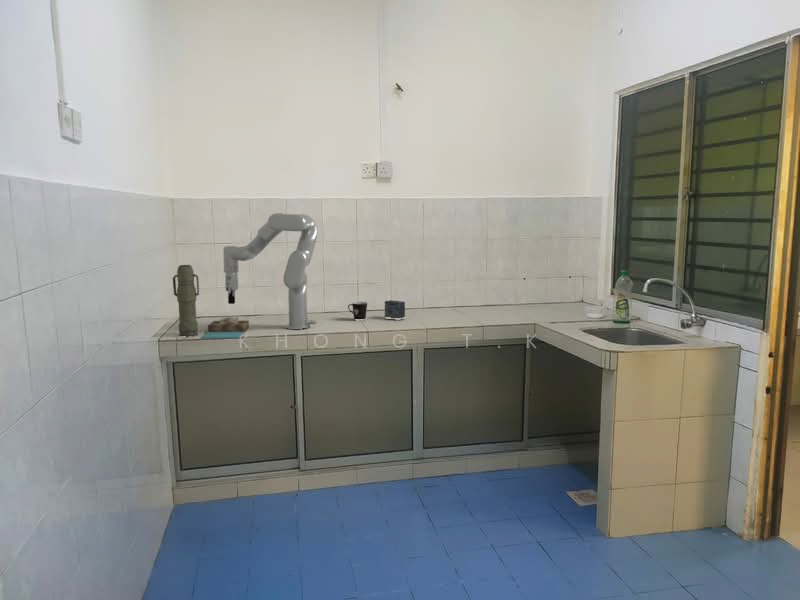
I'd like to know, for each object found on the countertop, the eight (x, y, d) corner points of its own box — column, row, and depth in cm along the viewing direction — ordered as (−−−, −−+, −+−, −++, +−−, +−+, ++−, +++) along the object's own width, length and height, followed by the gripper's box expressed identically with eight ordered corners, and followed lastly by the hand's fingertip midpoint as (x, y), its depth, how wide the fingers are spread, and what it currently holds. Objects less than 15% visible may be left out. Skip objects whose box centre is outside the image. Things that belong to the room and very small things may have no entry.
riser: (248, 327, 301) (248, 320, 300) (244, 332, 289) (243, 325, 288) (214, 328, 299) (214, 320, 299) (208, 333, 288) (207, 325, 287)
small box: (405, 319, 327) (405, 301, 326) (399, 321, 322) (399, 302, 320) (390, 317, 333) (390, 299, 331) (384, 319, 327) (384, 301, 326)
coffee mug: (370, 320, 323) (370, 303, 321) (357, 322, 318) (356, 304, 316) (359, 317, 332) (359, 300, 331) (347, 318, 327) (346, 301, 326)
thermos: (176, 333, 285) (172, 264, 280) (201, 332, 289) (197, 264, 283) (175, 337, 277) (171, 266, 271) (200, 336, 281) (197, 265, 275)
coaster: (238, 321, 298) (238, 317, 298) (235, 323, 292) (235, 319, 292) (222, 321, 298) (222, 317, 297) (220, 323, 292) (219, 319, 291)
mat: (243, 332, 288) (243, 331, 288) (238, 338, 276) (238, 337, 276) (208, 333, 287) (207, 332, 287) (201, 338, 275) (201, 337, 275)
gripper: (235, 271, 293) (235, 306, 296) (241, 268, 308) (241, 301, 311) (220, 270, 292) (221, 305, 295) (227, 267, 307) (227, 301, 310)
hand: (231, 303), depth 303 cm, fingers closed
